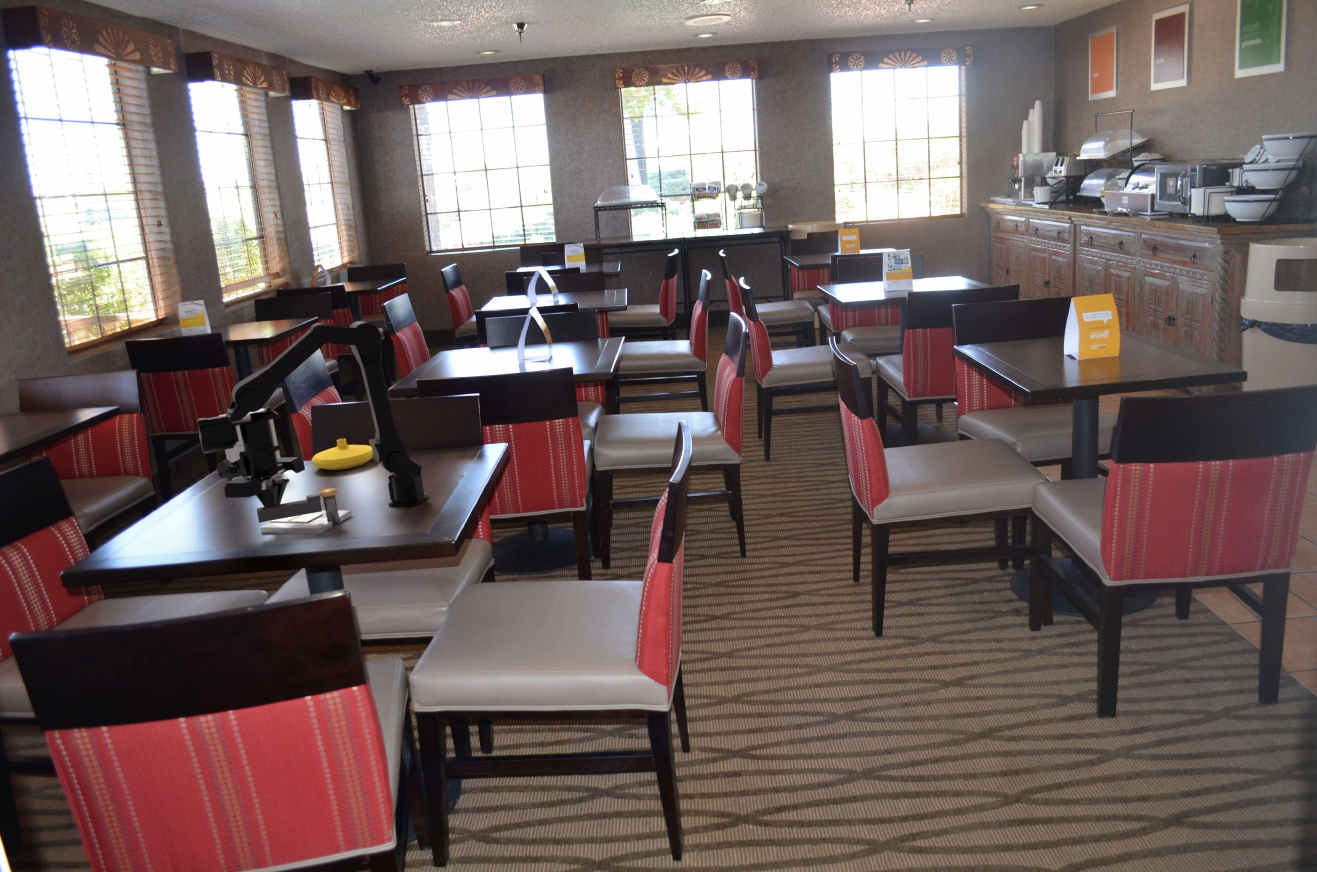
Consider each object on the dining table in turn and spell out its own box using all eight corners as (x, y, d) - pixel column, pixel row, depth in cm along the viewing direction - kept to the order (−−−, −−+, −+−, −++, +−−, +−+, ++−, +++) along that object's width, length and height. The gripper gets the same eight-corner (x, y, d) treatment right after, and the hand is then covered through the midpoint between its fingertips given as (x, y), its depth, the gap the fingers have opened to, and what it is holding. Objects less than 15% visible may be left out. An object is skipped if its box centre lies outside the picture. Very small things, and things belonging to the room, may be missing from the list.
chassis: (354, 515, 200) (349, 487, 199) (322, 533, 190) (317, 504, 189) (295, 515, 205) (290, 487, 203) (261, 532, 195) (255, 504, 193)
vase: (366, 472, 237) (361, 444, 235) (303, 477, 237) (298, 450, 236) (385, 456, 252) (380, 430, 250) (326, 460, 253) (321, 435, 251)
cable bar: (339, 505, 197) (336, 487, 196) (339, 509, 194) (336, 491, 193) (259, 519, 192) (256, 501, 191) (258, 523, 189) (255, 505, 188)
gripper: (253, 432, 201) (267, 502, 205) (192, 457, 184) (209, 533, 188) (299, 430, 198) (313, 501, 202) (241, 456, 181) (258, 533, 185)
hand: (273, 516), depth 194 cm, fingers closed
